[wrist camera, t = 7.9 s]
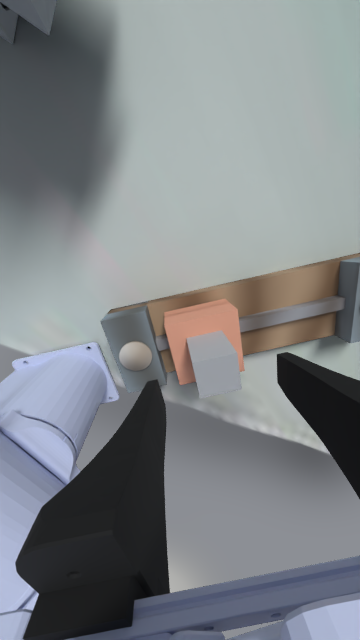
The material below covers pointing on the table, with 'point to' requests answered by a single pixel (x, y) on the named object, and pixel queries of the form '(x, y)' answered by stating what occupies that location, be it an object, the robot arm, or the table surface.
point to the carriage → (206, 346)
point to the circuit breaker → (25, 15)
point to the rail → (244, 316)
